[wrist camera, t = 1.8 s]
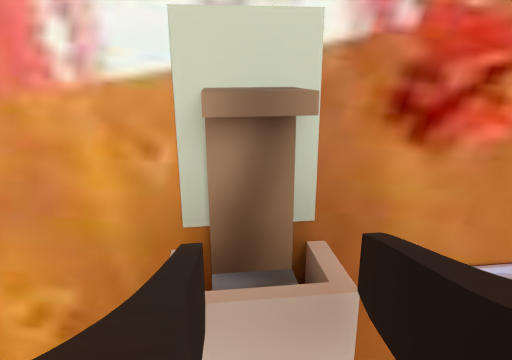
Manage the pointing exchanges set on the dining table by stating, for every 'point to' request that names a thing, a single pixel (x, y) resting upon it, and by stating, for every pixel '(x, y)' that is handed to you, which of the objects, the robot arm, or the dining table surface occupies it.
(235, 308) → the tunnel
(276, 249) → the brown t-shaped bar
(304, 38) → the mat
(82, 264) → the dining table surface
